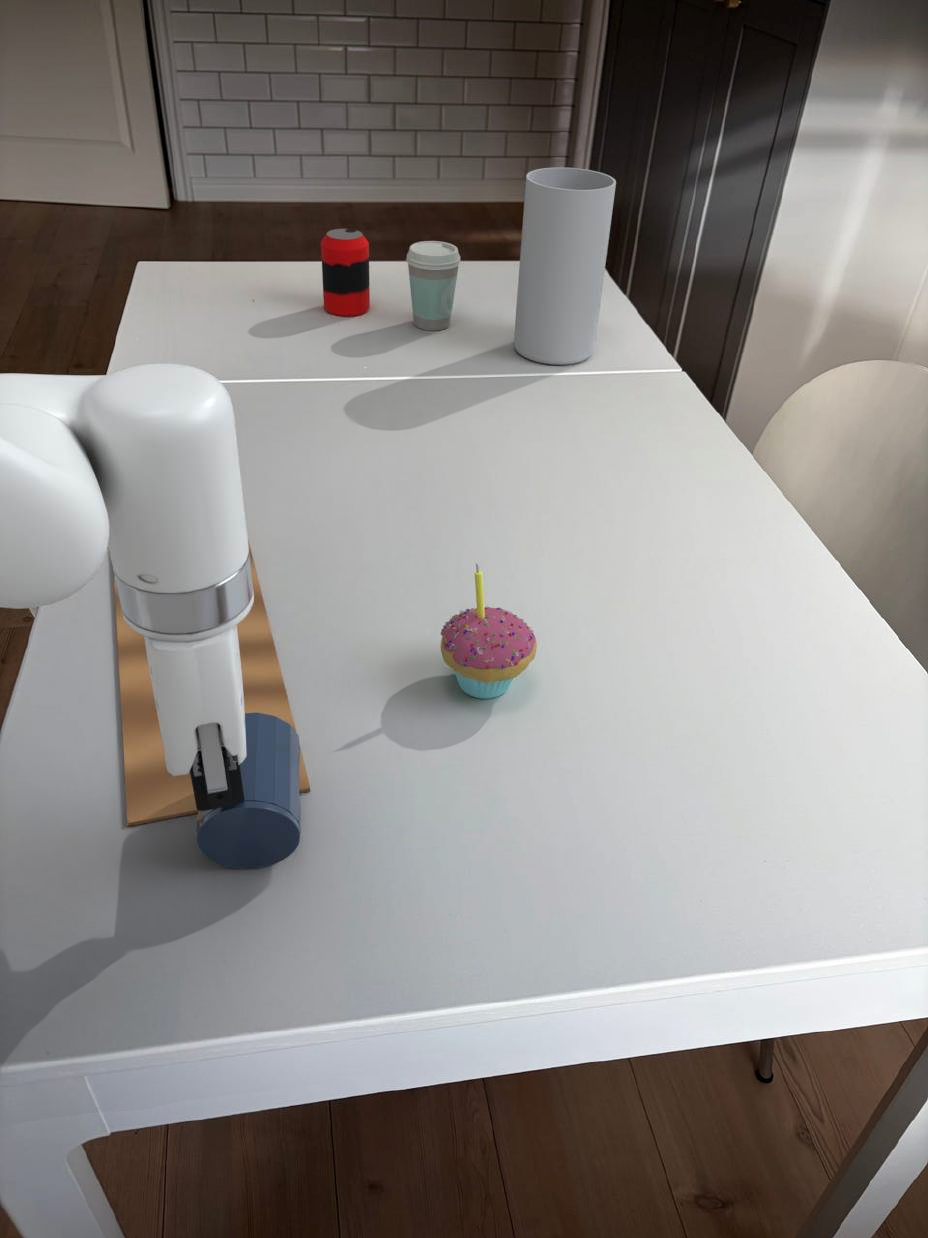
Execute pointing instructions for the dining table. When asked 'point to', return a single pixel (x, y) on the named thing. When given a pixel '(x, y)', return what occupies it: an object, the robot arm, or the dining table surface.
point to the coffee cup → (432, 283)
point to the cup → (259, 801)
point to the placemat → (144, 756)
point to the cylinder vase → (562, 263)
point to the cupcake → (486, 647)
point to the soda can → (345, 272)
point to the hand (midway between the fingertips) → (220, 798)
